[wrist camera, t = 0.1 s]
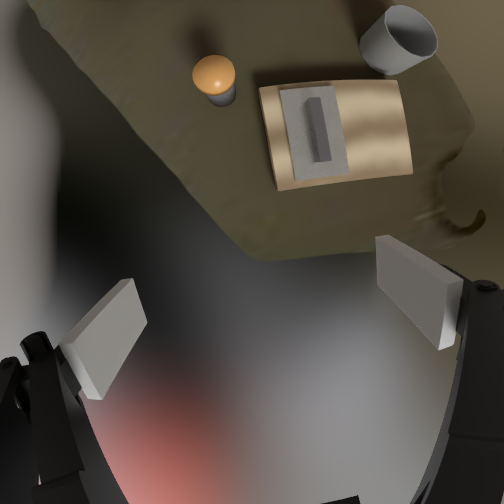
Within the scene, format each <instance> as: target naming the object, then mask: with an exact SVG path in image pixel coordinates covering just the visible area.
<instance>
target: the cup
mask: <svg viewBox="0 0 504 504" xmlns="http://www.w3.org/2000/svg"><path fill="white" fill-rule="evenodd" d="M437 44H438V38H437V36H436V33H435V31H434V28H433V27H432V25H431V24H430V23H429V22H428V20H427V19H426V18H425V17H424V16H423V15H421V14H420V13H418V12H417V11H416V10H414V9H412V8H409V7H406V6H403V5H397V6H391V7H390V8H389V9H388V10H387V11H386V12H385V13H384V14H383V15H382V16H381V17H380V18H379V19H378V20H377V21H376V22H375V23H374V24H373V25H372V26H371V27H370V28H369V29H368V30H367V32H366V33H365V34H364V35H363V36H362V37H361V38H360V44H359V48H360V51H361V54H362V57H363V58H364V60H365V61H366V62H367V63H368V65H369V66H370V67H371V68H373V69H375V70H376V71H378V72H379V73H382V74H387V75H394V74H398V73H401V72H402V71H404V70H406V69H408V68H410V67H412V66H414V65H416V64H417V63H419V62H421V61H423V60H425V59H427V58H429V57H431V56H432V55H433V54H434V53H435V52H436V50H437V46H438V45H437Z"/></svg>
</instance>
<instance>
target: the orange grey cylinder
mask: <svg viewBox="0 0 504 504" xmlns="http://www.w3.org/2000/svg"><path fill="white" fill-rule="evenodd" d="M235 77H236V76H235V70H234V66H233V64H232V63H231V61H230V60H229V59H227V58H226V57H224V56H220V55H210V56H207V57H204V58H203V59H201V60H200V61H199V62H198V63H197V64H196V65H195V67H194V69H193V80H194V83H195V84H196V86H197V87H198V88H199V90H200V91H201V92H203V93H204V94H206V96H207V98H208V99H209V101H210V102H211V103H212V104H213V105H215V106H218V107H225V106H228V105H230V104H231V103H232V102H233V101H234V100H235V97H236V89H235V84H234V83H235Z"/></svg>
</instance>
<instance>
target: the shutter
mask: <svg viewBox="0 0 504 504" xmlns="http://www.w3.org/2000/svg"><path fill="white" fill-rule="evenodd" d="M279 94H280V99H281V104H282V109H283V114H284V120H285V125H286V130H287V136H288V141H289V147H290V152H291V158H292V164H293V170H294V176H295V181H300V180H307V179H314V178H321V177H329V176H336V175H344V174H350V172H349V165H348V159H347V152H346V146H345V140H344V134H343V129H342V123H341V118H340V113H339V108H338V103H337V98H336V94H335V89H334V86H320V87H308V88H297V89H287V90H280V91H279Z"/></svg>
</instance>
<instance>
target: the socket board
mask: <svg viewBox="0 0 504 504" xmlns="http://www.w3.org/2000/svg"><path fill="white" fill-rule="evenodd" d="M320 86H334V89H335V94H336V98H337V103H338V108H339V113H340V118H341V123H342V129H343V134H344V140H345V146H346V152H347V159H348V165H349V172H350V174H344V175H336V176H329V177H321V178H314V179H307V180H300V181H295V176H294V170H293V164H292V158H291V152H290V147H289V141H288V136H287V130H286V125H285V120H284V114H283V109H282V104H281V99H280V94H279V91H280V90H287V89H297V88H308V87H320ZM258 94H259V99H260V104H261V110H262V115H263V120H264V125H265V131H266V136H267V141H268V147H269V152H270V158H271V164H272V169H273V175H274V181H275V187H276V190H277V191H282V190H289V189H295V188H302V187H308V186H315V185H322V184H329V183H337V182H344V181H352V180H360V179H369V178H378V177H387V176H396V175H406V174H413V168H412V160H411V152H410V145H409V138H408V132H407V126H406V121H405V115H404V110H403V105H402V100H401V96H400V91H399V87H398V83H397V80H333V81H316V82H303V83H293V84H284V85H275V86H268V87H261V88H259V93H258Z"/></svg>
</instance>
